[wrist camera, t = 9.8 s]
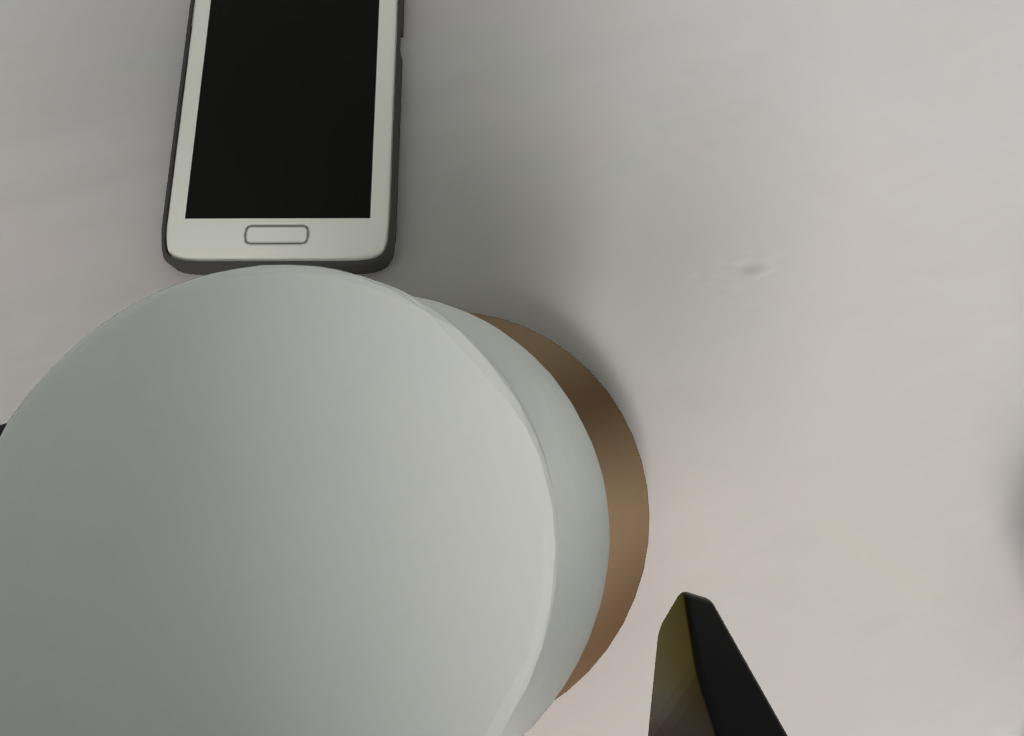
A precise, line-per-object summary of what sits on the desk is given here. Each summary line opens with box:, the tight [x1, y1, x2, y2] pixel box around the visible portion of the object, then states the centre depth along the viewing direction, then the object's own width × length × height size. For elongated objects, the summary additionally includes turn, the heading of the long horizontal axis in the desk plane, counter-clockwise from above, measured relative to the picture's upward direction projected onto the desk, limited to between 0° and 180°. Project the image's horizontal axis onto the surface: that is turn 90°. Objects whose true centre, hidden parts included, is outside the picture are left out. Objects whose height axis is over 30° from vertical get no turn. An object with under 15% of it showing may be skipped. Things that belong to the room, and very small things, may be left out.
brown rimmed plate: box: [469, 313, 649, 699], centre depth 18 cm, size 12×12×2 cm
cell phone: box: [162, 0, 404, 275], centre depth 22 cm, size 8×15×1 cm, turn 1°
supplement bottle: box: [0, 265, 610, 736], centre depth 11 cm, size 7×7×13 cm
